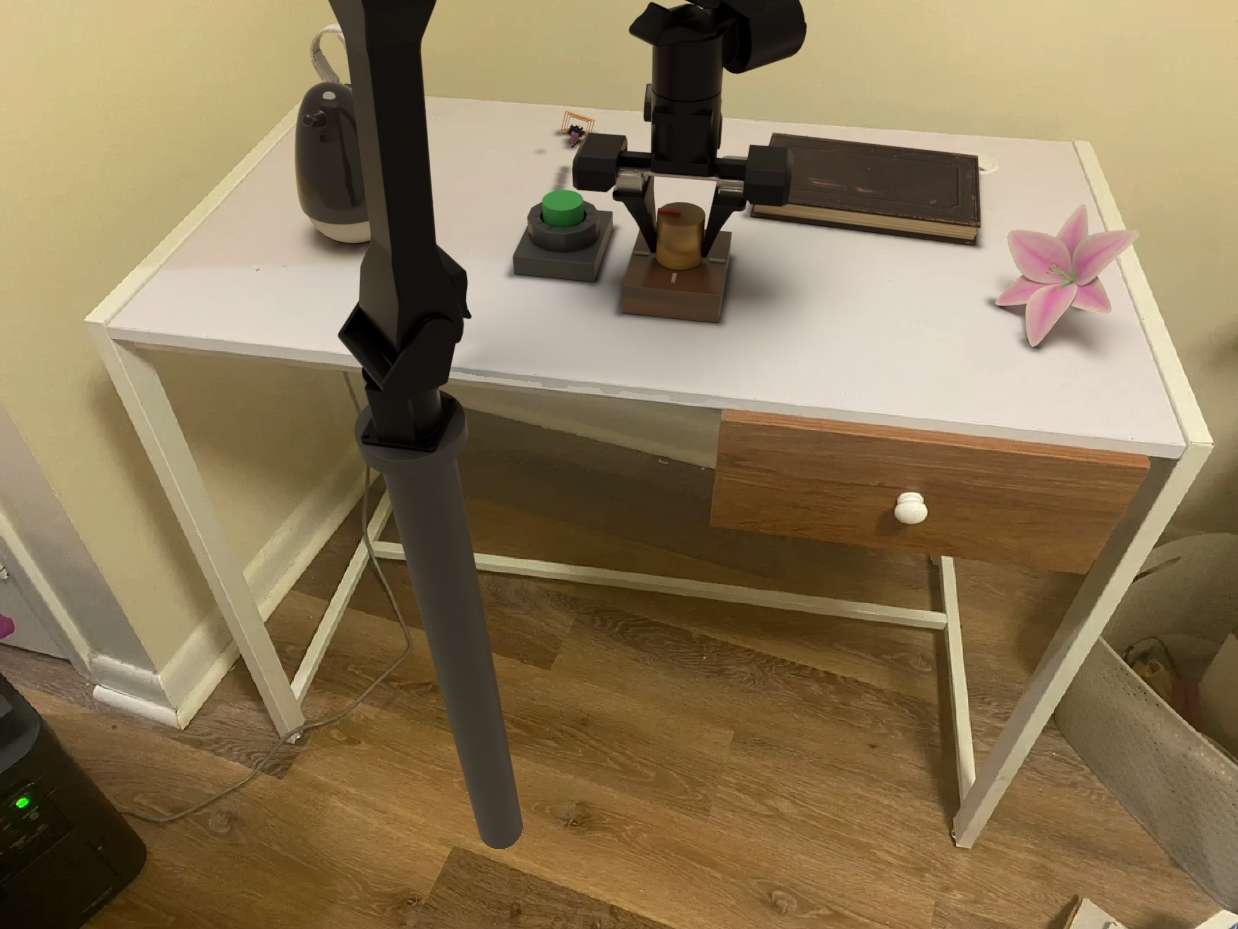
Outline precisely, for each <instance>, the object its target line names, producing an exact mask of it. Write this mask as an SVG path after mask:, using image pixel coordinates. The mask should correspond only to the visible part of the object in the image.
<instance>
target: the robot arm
mask: <svg viewBox="0 0 1238 929" xmlns="http://www.w3.org/2000/svg"><path fill="white" fill-rule="evenodd" d="M327 1H328V3H329V5H330V7H331V10H332V13H333V14H334V17H335V19H336V21H337V23H339V25H340V28H341V30H342V33H343V36H344V39H345V44H346V51H347V54H346V58H347V67H348V72H349V79H350V80H349V81H350V84H351V89H352V96H353V104H354V112H355V119H356V127H357V134H358V142H359V149H360V157H361V164H362V172H363V180H364V187H365V195H366V202H367V210H368V217H369V225H370V232H371V239H370V240H369V245H368V247H367V249H366V251H365V253H364V255H363V258H362V260H361V263H360V265H359V288H358V289H359V290H358V301H357V303H356V304H355V306H354V307H353V308H352V310H351V312H350V314H348V316H347V318H346V320H345V322H344V323H343V325H342V326H341V328H340V329H339V331H338V333H337V338H338V340H339V341H340V342H341V343H342V344H343V345H344V346H345V348H346V349H347V350H348V352H350V354H351V355H352V356H353V357H354V358H355V359H356V361H357V362H358V363H359V364H360V366H361V376H362V380H363V385H364V388H363V389H364V393H365V396H366V400H367V405H368V404H369V408H370V412H371V415H372V417H371V419H370V421H369V422H368V424H367V426H366V428H365V430H364V431H363V433H362V435H361V442H362V443H363V444H365V445H373V446H380V447H388V448H396V449H404V450H411V451H419V452H427V453H432V452H434V451H436V449H437V447H438V445H439V443H440V441H441V439H442V437H443V434H444V432H445V430H446V428H447V426H448V423H449V421H450V419H451V417H452V415H453V413H454V410H455V408H456V406H457V401H456V399H457V398H456V397H454V398H450V397H442V396H440V394H439V390H440V389H439V388H440V387H442V386H444V385H446V384H448V382H449V379H450V373H451V369H452V365H453V359H454V355H455V351H456V345H457V344H459V343H461V341H462V339H463V336H464V333H465V332H464V331H465V319H466V320H470V319H472V314H471V312H470V310H469V306H468V303H467V296H468V295H467V294H468V286H469V280H468V272H467V270H466V269H465V268H464V267H463V266H462V265H460V264H459V263H458V262H457V261H456V260H455V259H454V258H452V256H450V255H449V254H448V253H447V251H445V250H444V249H443V248H442V247H441V246H440V245H438V244H437V234H436V223H435V222H436V221H435V210H434V196H433V183H432V171H431V159H430V158H431V157H430V148H429V133H428V120H427V119H428V118H427V110H426V96H425V83H424V81H425V80H424V71H423V70H424V69H423V57H422V44H423V43H422V42H423V38H424V36H425V33H426V31H427V28H428V26H429V22H430V21H431V17H432V15H433V12H434V10H435V7H436V4H437V2H438V0H327ZM684 1H685V2H687V3H682V4H680V5H676V6H672V7H669V8H667V7H665V6H663V5H660V4H659V3H656V2H654V1H650V2H649V3H648V4H647V6H646V8H645V9H644V11H643V12H642V13H641V14H640V15H639V16H637V17H636V18H634V20H633V21H632V23H631V24H630V25H629V27H628V33H629V35H630V36H633V37H634V38H637V39H638V40H641V41H642V42H645V43H646V44H648V45H650V46H652V47H651V48H652V50H651V52H652V53H651V56H652V57H651V60H652V61H651V82H650V83H646V85H645V93H644V102H643V115H642V116H643V118H642V119H643V122H645V123H650V152H649V151H637V150H635V151H634V150H628V148H629V145H628V144H629V143H628V137H627V135H626V134H612V133H601V132H600V133H599V132H589V133H588V132H587V133H586V135H585V136H584V137H582V138H581V139H582V140H581V141H580V143H579V146H578V148H577V150H576V152H575V155H574V157H573V160H572V166H571V178H572V179H571V181H572V187H573V188H574V189H575V190H576V191H582V192H583V191H584V192H597V193H608V192H609V191H610V190H611V189H613V190H612V193H611V196H612V200H613V201H615V202H619V203H620V202H621V203H622V204H623V205H624V206H625V208H626V210H627V211H628V212H629V214H630V215H631V217H632V218H633V220H634V221H635V223H636V225H637V226H638V229H640V231H641V233H642V235H643V237H644V239H645V241H646V243H647V245H648V248H649V250H650V252H651V253H656V230H657V210H656V209H657V208H656V200H655V177H656V178H670V179H684V180H693V181H695V180H696V181H708V182H715V187H714V192H713V197H712V201H711V205H710V209H709V214H708V218H707V224H706V227H705V229H706V232H705V237H704V241H703V246H702V258H706V257H707V255H708V253H709V251H710V249H711V247H712V245H713V243H714V241H715V239H716V237H717V235H718V233H719V231H722V228H723V227H724V225H725V224H726V223H727V221H728V220H729V219H730V217H731V216H732V214H733V213H735V212H743V211H745V210H746V209H747V204H748V203H749V204H750V205H752V206H753V205H764V206H776V207H782V206H785V205H787V204H788V202H789V195H790V188H791V180H792V170H793V160H794V155H793V153H792V152H791V150H790V149H789V147H777V146H769V145H762V144H749V145H748V152H747V156H743V155H742V156H741V155H725V156H723V157H718V150H720V149H721V145H722V136H723V135H722V134H723V121H724V120H723V119H724V118H723V114H722V113H723V112H722V103H723V98H722V93H723V92H722V91H723V77H724V70H726V71H727V72H729V73H731V74H734V75H741V74H744V73H747V72H749V71H753V70H756V69H758V68H762V67H765V66H768V65H771V64H774V63H777V62H780V61H784V60H787V59H790V58H792V57H793V56H795V55H797V54H798V53H799V51H800V50H801V49H802V47H803V45H804V42H805V40H806V36H807V29H808V23H807V22H806V19H805V18H806V17H805V12H804V8H803V5H802V3H801V1H800V0H684ZM346 51H345V52H346ZM455 398H456V399H455ZM367 438H368V439H367ZM430 446H432V447H430Z"/></svg>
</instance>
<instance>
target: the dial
mask: <svg viewBox="0 0 1238 929" xmlns="http://www.w3.org/2000/svg"><path fill="white" fill-rule="evenodd" d="M656 221H657V230H656V260H657V261H658V263H660V264H661V265H662V266H664V267H666V268H669V269H674V270H686V269H691V268H693V267H696V266H697V265H699V264H700V263H701V261H702V246H703V241H704V230H705V229H706V211H705V210H704V209H703V208H702V207H701V206H699V205H697V204H696V203H691V202H688V201H687V202H686V201H674V202H669V203H666V204H663V205H662V206H660V207H657V210H656Z"/></svg>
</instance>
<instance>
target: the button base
mask: <svg viewBox="0 0 1238 929" xmlns="http://www.w3.org/2000/svg"><path fill="white" fill-rule="evenodd" d="M583 206H584V219H583V221H582V222H581V223H580V224H578V225H576V226H571V227H566V228H562V227H552V226H550V225H548V224H546V223H545V222H544V220H543V209H542V201H540V202H539V203H537V204H535V205H533V206H532V207H531V208H530V210H529V211H528V214H527V217H526V221H527V226H526V227H525V229H524V231H523V233H522V236H521V238H520V240H519V243H518V244H517V246H516V248H515V251H514V253H513V255H512V263H513V264H512V265H513V273H514V275H523V276H524V275H525V276H532V277H543V278H552V279H563V280H570V281H571V280H573V281H581V282H592V283H594V282H595V281H596V277H597V275H598V272H599V269H600V267H601V265H602V264H601V263H602V260H603V258H604V255H605V252H606V250H607V247H608V243H609V240H610V238H611V235H612V232H613V230H614V212H613V210H612V211H611V210H602V209H597V207H596V206H595V204H594V203H591V202H589V201H586V200H584V199H583Z"/></svg>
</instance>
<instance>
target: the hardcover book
mask: <svg viewBox="0 0 1238 929" xmlns="http://www.w3.org/2000/svg"><path fill="white" fill-rule="evenodd" d="M768 146H777V147H789V149H790V150H791V152H792V153H793V155H794V160H793V170H792V180H791V188H790V195H789V202H788V204H787V205H785V206H782V207H776V206H764V205H752V207H751V211H750V214H749V216H750V217H754V218H755V217H756V218H763V219H771V220H778V221H787V222H795V223H801V224H810V225H815V226H816V225H817V226H825V227H832V228H840V229H847V230H856V231H864V232H872V233H877V234H887V235H895V236H903V237H910V238H917V239H925V240H932V241H939V242H940V241H941V242H948V243H956V244H963V245H971V246H975V245H976V242H977V240H976V239H977V238H976V237H977V236H976V235H977V234H978V229H981V228H982V215H981V214H982V213H981V194H980V192H981V191H980V169H979V168H980V167H979V164H980V163H979V155H977V154H976V155H975V154H970V153H969V154H968V153H959V152H950V151H941V150H934V149H932V150H931V149H925V148H915V147H908V146H907V147H905V146H897V145H889V144H879V143H871V142H863V141H852V140H845V139H844V140H843V139H834V138H826V137H816V136H808V135H799V134H793V133H792V134H790V133H783V132H773V131H772V133H771V136H770V139H769V142H768Z"/></svg>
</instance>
